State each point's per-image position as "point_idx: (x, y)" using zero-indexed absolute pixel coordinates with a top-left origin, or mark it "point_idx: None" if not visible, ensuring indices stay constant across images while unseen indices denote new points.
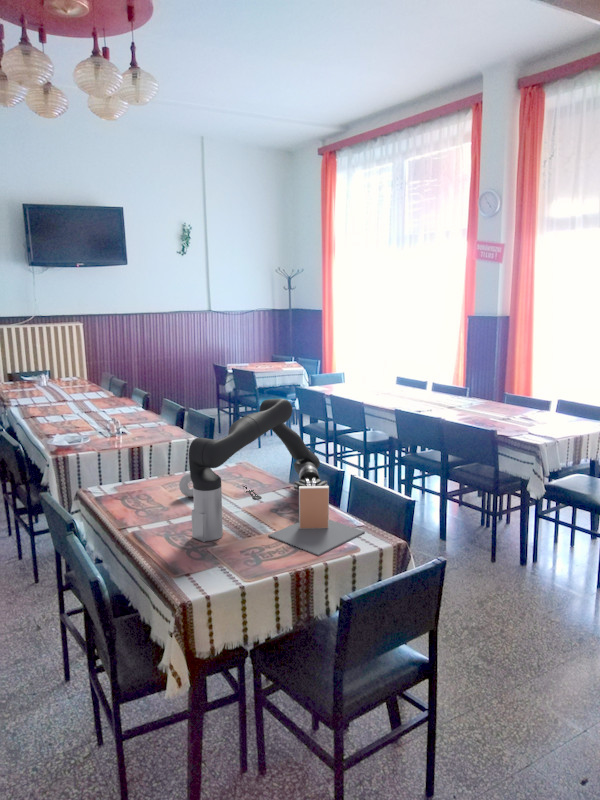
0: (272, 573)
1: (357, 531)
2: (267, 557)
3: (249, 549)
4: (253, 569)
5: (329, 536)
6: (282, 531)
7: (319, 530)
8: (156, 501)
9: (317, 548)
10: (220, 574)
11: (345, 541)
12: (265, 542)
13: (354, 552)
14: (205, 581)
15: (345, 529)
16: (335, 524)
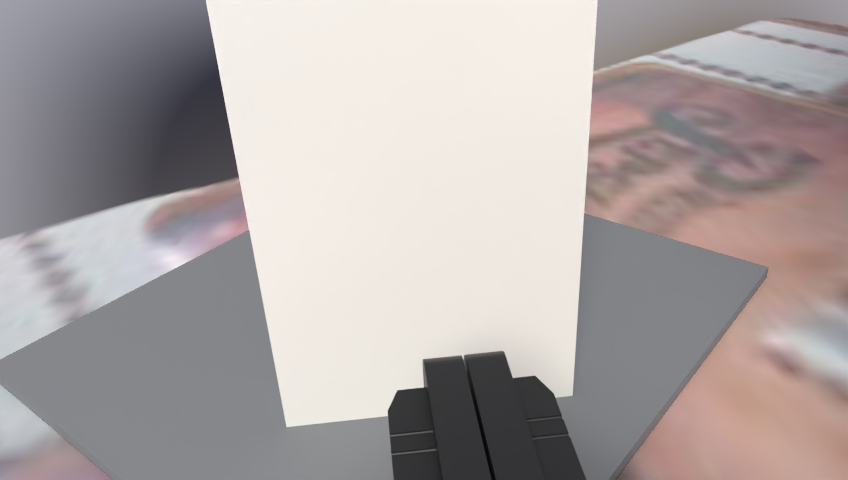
0: None
1: (53, 358)
2: (642, 141)
3: (781, 173)
4: (659, 94)
5: None
6: (686, 314)
7: None
8: None
9: None
10: (768, 72)
11: (207, 256)
12: (736, 225)
13: (193, 196)
14: (790, 53)
15: (141, 379)
16: (202, 460)
